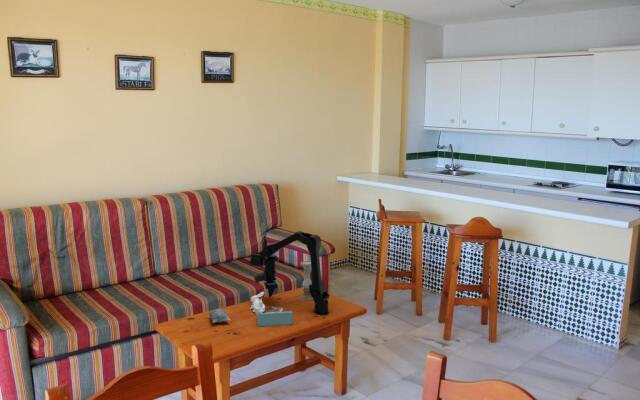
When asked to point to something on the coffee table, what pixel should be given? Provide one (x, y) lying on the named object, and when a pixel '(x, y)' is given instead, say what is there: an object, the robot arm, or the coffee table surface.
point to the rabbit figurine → (257, 303)
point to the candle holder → (306, 281)
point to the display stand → (274, 318)
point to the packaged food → (218, 316)
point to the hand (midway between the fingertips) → (270, 296)
